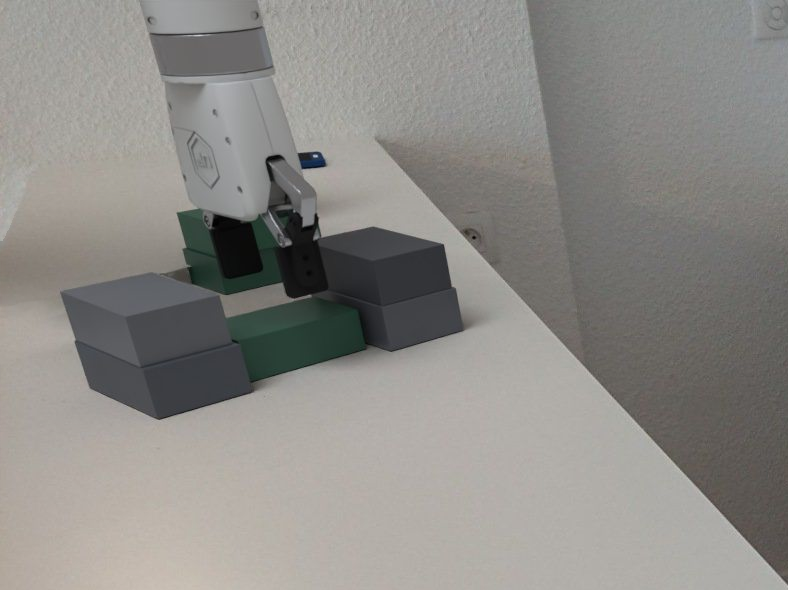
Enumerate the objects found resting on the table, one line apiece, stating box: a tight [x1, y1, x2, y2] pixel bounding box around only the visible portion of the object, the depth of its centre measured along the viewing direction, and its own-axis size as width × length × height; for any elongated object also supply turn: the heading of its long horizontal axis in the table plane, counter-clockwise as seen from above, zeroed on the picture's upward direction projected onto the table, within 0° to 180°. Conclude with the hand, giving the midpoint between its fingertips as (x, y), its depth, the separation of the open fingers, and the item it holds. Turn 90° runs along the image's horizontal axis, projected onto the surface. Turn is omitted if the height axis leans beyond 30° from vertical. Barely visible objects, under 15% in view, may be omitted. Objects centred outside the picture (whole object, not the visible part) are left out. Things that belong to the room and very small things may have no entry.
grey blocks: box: [59, 226, 464, 420], centre depth 103 cm, size 26×11×8 cm, turn 144°
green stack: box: [176, 208, 323, 295], centre depth 124 cm, size 10×7×7 cm, turn 144°
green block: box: [226, 296, 367, 383], centre depth 104 cm, size 10×6×3 cm, turn 144°
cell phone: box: [297, 151, 326, 169], centre depth 173 cm, size 7×14×1 cm, turn 118°
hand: (275, 284), depth 102 cm, fingers open, 9 cm apart
